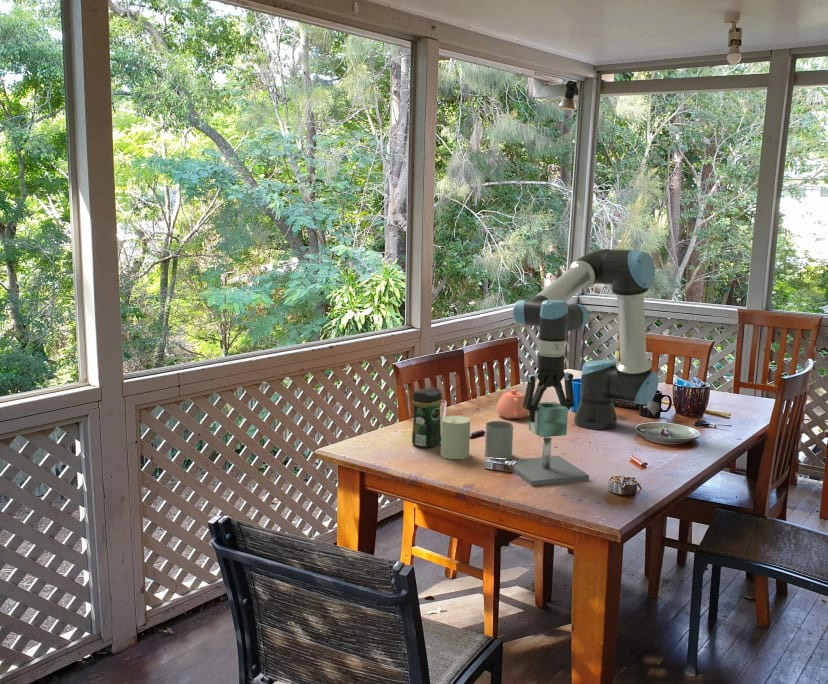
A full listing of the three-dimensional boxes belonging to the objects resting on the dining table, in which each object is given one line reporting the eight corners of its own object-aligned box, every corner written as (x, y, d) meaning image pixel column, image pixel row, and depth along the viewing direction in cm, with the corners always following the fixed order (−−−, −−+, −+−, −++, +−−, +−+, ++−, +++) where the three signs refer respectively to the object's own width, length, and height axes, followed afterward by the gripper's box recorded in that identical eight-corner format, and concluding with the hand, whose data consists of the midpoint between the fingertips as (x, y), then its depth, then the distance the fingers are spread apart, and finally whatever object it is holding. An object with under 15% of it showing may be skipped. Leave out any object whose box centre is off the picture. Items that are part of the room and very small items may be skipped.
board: (558, 460, 236) (558, 455, 235) (588, 480, 219) (589, 475, 218) (504, 465, 230) (504, 460, 230) (531, 486, 213) (532, 480, 213)
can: (435, 457, 236) (436, 419, 234) (445, 449, 245) (446, 412, 243) (464, 461, 233) (465, 423, 231) (473, 452, 241) (474, 416, 239)
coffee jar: (424, 438, 256) (426, 384, 252) (444, 443, 251) (446, 387, 248) (407, 445, 248) (408, 389, 245) (427, 450, 243) (428, 393, 240)
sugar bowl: (526, 412, 291) (527, 386, 289) (533, 422, 277) (534, 395, 275) (494, 412, 291) (495, 385, 289) (499, 422, 277) (500, 394, 275)
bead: (553, 427, 227) (554, 401, 226) (566, 435, 220) (567, 408, 218) (528, 429, 225) (529, 403, 223) (541, 437, 217) (542, 409, 216)
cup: (484, 451, 243) (485, 420, 242) (510, 451, 243) (511, 421, 241) (485, 459, 235) (487, 428, 233) (512, 460, 235) (514, 429, 233)
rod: (547, 466, 226) (549, 436, 224) (551, 468, 223) (553, 438, 222) (540, 466, 225) (541, 437, 223) (544, 469, 223) (545, 439, 221)
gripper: (524, 358, 212) (520, 437, 215) (590, 355, 218) (585, 432, 222) (512, 353, 219) (509, 430, 222) (577, 350, 225) (572, 425, 229)
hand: (547, 431), depth 222 cm, fingers closed on bead, 8 cm apart
